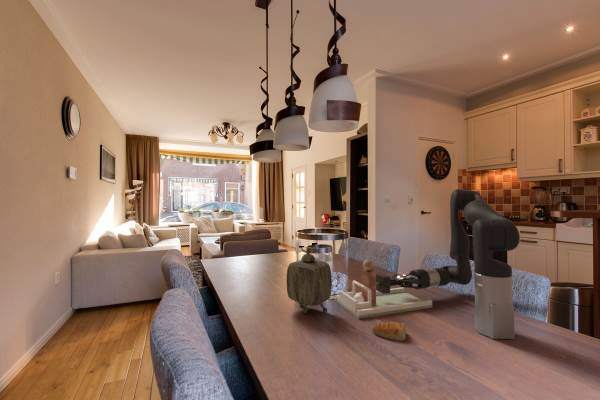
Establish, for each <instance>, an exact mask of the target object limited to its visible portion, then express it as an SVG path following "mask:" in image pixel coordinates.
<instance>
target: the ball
mask: <svg viewBox="0 0 600 400" xmlns="http://www.w3.org/2000/svg"><path fill="white" fill-rule="evenodd" d="M354 299H355V300H357V301H358V303H361V302H364V301H365V300H364V297H363V296H362V295H361V294H356V295H355V296H354Z"/></svg>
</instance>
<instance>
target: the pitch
mask: <svg viewBox="0 0 600 400" xmlns="http://www.w3.org/2000/svg"><path fill="white" fill-rule="evenodd" d="M356 294H361V295H362V291H360V292H356ZM336 302H337V303H338V304H339V305H341V307H343V308H344V309H345V310H347V311H348V312H350V313H351V314H352V315H353V316H354V317H355V318H357V319H358V320H359V319H366V318H373V317H380V316H387V315H393V314H398V313H399V314H400V313H405V312H407V313H408V312H413V311H419V310H425V309H426V310H427V309H432V308H433V300H432V299H425V300H423V299H420V298H419V297H416V296H415V295H412V294H410V293H408V292H406V291H405V287H396V288H395V287H394V288H390V293H385V294H383V293H381V292H379V291H377V290H376V305H372V308H367V309H360V310H357V313H354V312H353V311H352V310H350V309H349V308H348V307H346V306H345V305H344V304H343V303H341V302H340V295H339V294H337V295H336Z"/></svg>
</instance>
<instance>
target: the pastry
mask: <svg viewBox="0 0 600 400" xmlns="http://www.w3.org/2000/svg"><path fill="white" fill-rule="evenodd" d="M372 332H373V333H374V334H375V335H376V336H379V337H382V338H384V339H389V340H394V341H401V342H402V341H405V340H406V334H407V331H406V325H405V323H404V322H401V323H399V322H395V321H389V322H388V321H387V322H381V323H376V324H375V325H373V327H372Z"/></svg>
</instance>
